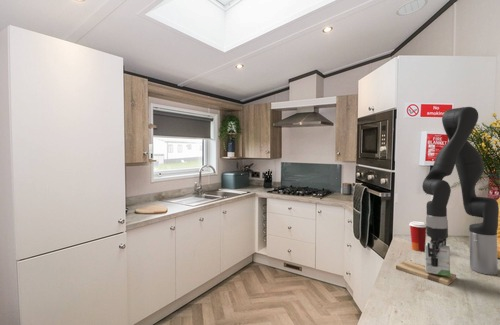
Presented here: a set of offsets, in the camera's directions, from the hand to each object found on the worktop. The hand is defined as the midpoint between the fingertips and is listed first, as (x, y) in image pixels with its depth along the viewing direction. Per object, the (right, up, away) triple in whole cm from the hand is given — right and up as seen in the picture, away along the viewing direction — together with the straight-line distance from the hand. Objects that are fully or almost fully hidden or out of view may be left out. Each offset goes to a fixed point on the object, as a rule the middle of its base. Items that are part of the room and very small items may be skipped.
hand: (437, 264), depth 109 cm
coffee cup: (+14, -5, +33) cm, 36 cm away
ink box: (0, -4, 0) cm, 4 cm away
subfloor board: (-3, -6, +4) cm, 8 cm away
